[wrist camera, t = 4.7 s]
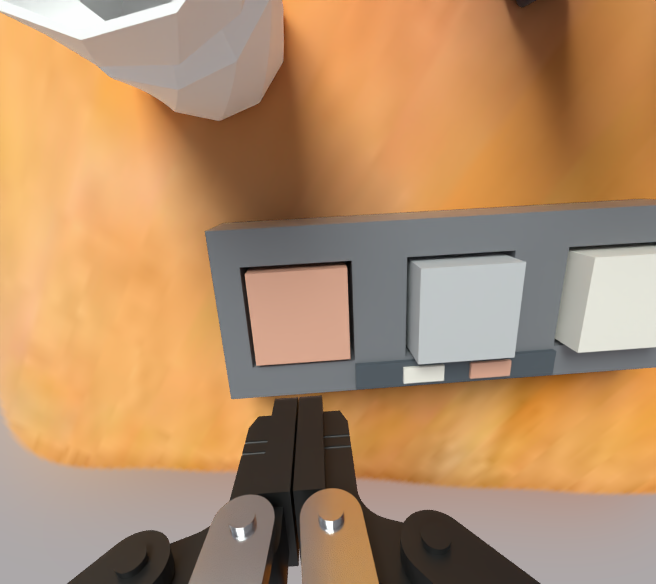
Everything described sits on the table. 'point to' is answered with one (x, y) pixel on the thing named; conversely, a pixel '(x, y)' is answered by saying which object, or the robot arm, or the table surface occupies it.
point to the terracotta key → (299, 312)
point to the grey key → (463, 306)
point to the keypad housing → (391, 287)
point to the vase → (171, 46)
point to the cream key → (609, 298)
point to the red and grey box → (524, 2)
